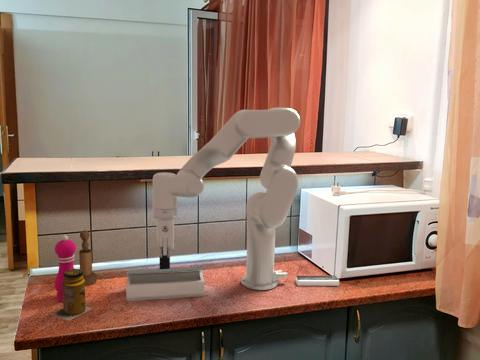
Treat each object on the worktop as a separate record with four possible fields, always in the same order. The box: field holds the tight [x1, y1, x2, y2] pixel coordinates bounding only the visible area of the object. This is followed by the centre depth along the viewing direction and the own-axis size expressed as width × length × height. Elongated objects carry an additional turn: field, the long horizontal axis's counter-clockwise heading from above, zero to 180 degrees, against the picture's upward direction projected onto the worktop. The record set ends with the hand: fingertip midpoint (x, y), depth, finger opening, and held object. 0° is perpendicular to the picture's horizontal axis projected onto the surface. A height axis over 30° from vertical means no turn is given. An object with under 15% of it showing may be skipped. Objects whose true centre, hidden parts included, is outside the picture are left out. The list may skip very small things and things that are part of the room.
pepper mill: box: [53, 234, 77, 303], centre depth 129 cm, size 7×7×20 cm
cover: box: [125, 266, 205, 275], centre depth 135 cm, size 24×9×1 cm, turn 102°
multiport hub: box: [294, 275, 340, 287], centre depth 147 cm, size 4×14×2 cm, turn 93°
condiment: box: [51, 268, 93, 322], centre depth 121 cm, size 7×8×12 cm
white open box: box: [125, 270, 206, 302], centre depth 136 cm, size 24×9×5 cm, turn 102°
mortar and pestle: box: [78, 229, 97, 287], centre depth 141 cm, size 7×6×18 cm
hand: (164, 268), depth 134 cm, fingers closed
